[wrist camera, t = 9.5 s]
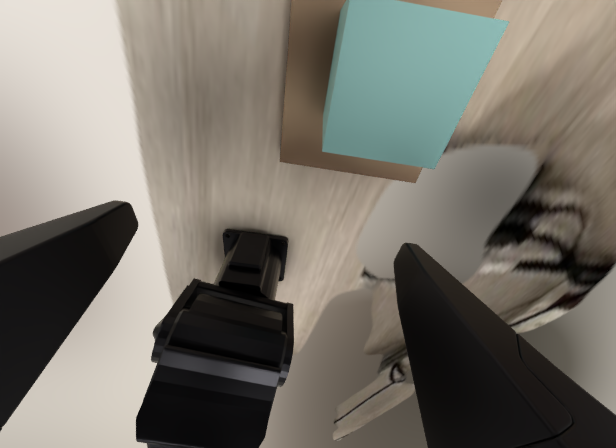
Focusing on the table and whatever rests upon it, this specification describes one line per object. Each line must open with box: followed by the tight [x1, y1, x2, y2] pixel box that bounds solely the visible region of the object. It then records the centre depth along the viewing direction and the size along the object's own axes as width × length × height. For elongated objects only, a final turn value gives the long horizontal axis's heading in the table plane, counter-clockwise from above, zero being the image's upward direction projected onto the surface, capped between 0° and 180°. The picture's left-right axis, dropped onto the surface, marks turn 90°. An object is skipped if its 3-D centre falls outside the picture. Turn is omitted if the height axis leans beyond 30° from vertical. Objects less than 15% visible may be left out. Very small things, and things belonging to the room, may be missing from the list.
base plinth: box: [280, 0, 502, 183], centre depth 14 cm, size 12×10×2 cm
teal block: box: [322, 0, 509, 169], centre depth 11 cm, size 5×5×6 cm
